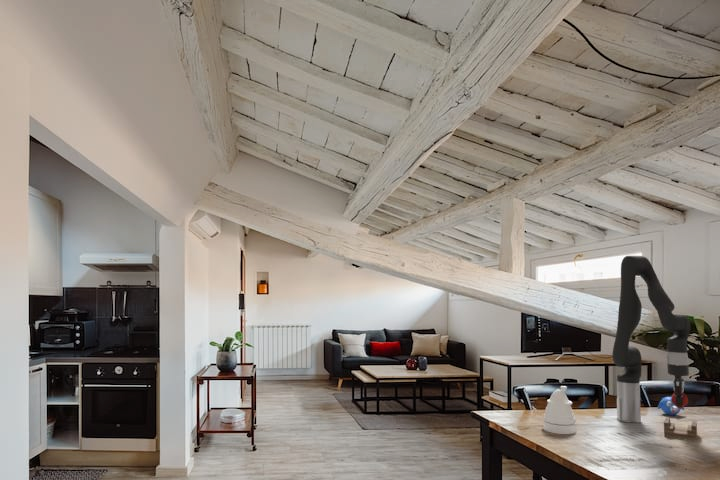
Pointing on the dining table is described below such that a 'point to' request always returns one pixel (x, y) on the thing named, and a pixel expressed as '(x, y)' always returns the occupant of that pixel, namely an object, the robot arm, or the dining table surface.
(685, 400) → the pomegranate
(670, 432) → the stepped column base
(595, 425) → the dining table surface
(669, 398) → the blue mole toy
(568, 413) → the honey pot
